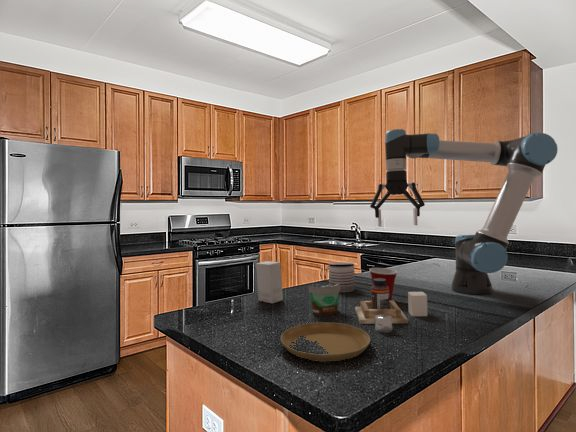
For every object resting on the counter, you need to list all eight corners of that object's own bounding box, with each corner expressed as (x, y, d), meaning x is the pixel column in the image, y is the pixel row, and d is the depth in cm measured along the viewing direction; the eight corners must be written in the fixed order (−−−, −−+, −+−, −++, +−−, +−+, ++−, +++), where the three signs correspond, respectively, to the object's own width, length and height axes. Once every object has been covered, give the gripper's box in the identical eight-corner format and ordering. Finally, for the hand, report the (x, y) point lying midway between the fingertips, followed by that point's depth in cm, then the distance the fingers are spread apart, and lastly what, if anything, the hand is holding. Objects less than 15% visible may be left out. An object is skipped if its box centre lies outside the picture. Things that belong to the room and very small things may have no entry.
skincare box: (283, 300, 152) (281, 262, 151) (271, 304, 147) (270, 264, 146) (268, 297, 157) (267, 260, 157) (257, 300, 152) (255, 262, 152)
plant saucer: (359, 330, 115) (359, 319, 115) (381, 365, 91) (381, 351, 91) (280, 334, 114) (280, 323, 114) (281, 370, 90) (281, 356, 90)
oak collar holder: (397, 309, 134) (397, 299, 134) (408, 323, 119) (407, 311, 119) (355, 310, 135) (354, 299, 135) (360, 323, 120) (359, 312, 120)
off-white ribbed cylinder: (326, 291, 164) (325, 264, 163) (332, 285, 174) (332, 259, 174) (352, 293, 159) (351, 264, 159) (357, 287, 170) (356, 260, 169)
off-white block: (423, 311, 130) (422, 291, 130) (427, 316, 125) (427, 295, 125) (408, 311, 131) (408, 292, 130) (412, 316, 126) (411, 295, 125)
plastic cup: (400, 304, 140) (399, 272, 140) (370, 303, 142) (369, 272, 142) (397, 296, 151) (396, 266, 150) (369, 296, 153) (369, 267, 152)
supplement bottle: (369, 310, 130) (368, 277, 129) (386, 309, 130) (385, 277, 130) (374, 315, 124) (373, 281, 123) (392, 314, 124) (391, 280, 124)
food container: (318, 318, 127) (317, 289, 126) (309, 314, 132) (308, 286, 132) (348, 312, 132) (347, 284, 132) (338, 308, 138) (337, 281, 137)
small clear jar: (390, 327, 116) (390, 314, 116) (393, 332, 112) (393, 319, 111) (374, 327, 117) (373, 314, 117) (376, 332, 112) (376, 319, 112)
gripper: (364, 171, 142) (366, 227, 143) (432, 168, 140) (433, 225, 141) (362, 172, 150) (363, 226, 151) (426, 170, 148) (427, 223, 149)
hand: (397, 225), depth 146 cm, fingers open, 13 cm apart
